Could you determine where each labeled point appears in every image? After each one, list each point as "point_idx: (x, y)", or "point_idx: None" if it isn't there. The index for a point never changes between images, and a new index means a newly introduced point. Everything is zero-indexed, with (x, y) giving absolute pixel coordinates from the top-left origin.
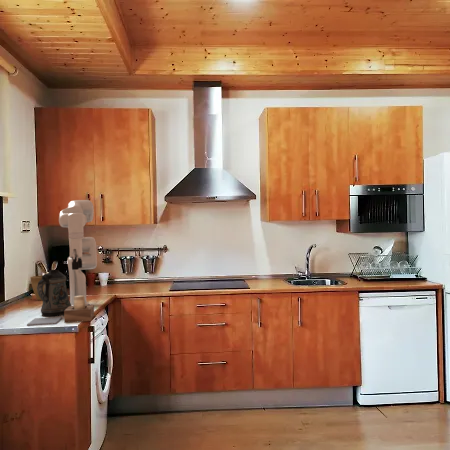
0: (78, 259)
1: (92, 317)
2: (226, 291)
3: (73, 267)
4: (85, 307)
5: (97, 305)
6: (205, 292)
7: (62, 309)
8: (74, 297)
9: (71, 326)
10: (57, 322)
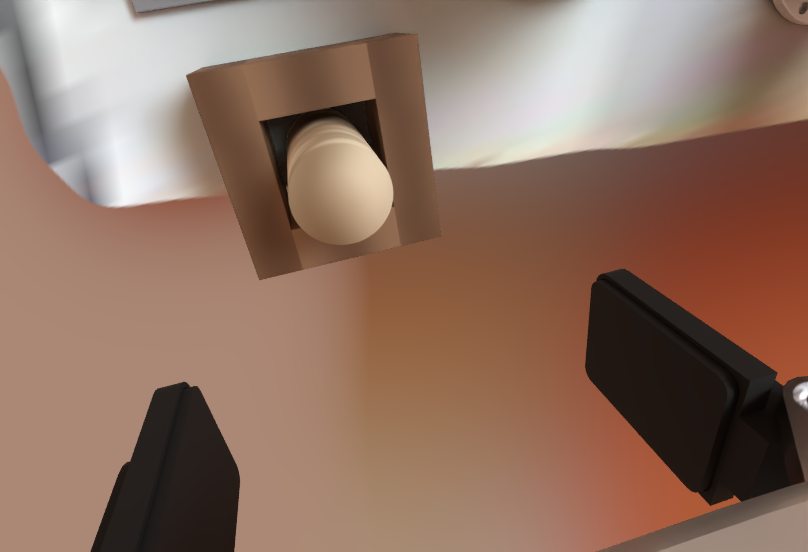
0: (762, 472)
1: None
2: None
3: (125, 466)
4: None
5: (760, 102)
6: None
7: None
8: (296, 166)
9: (79, 180)
10: (188, 4)
